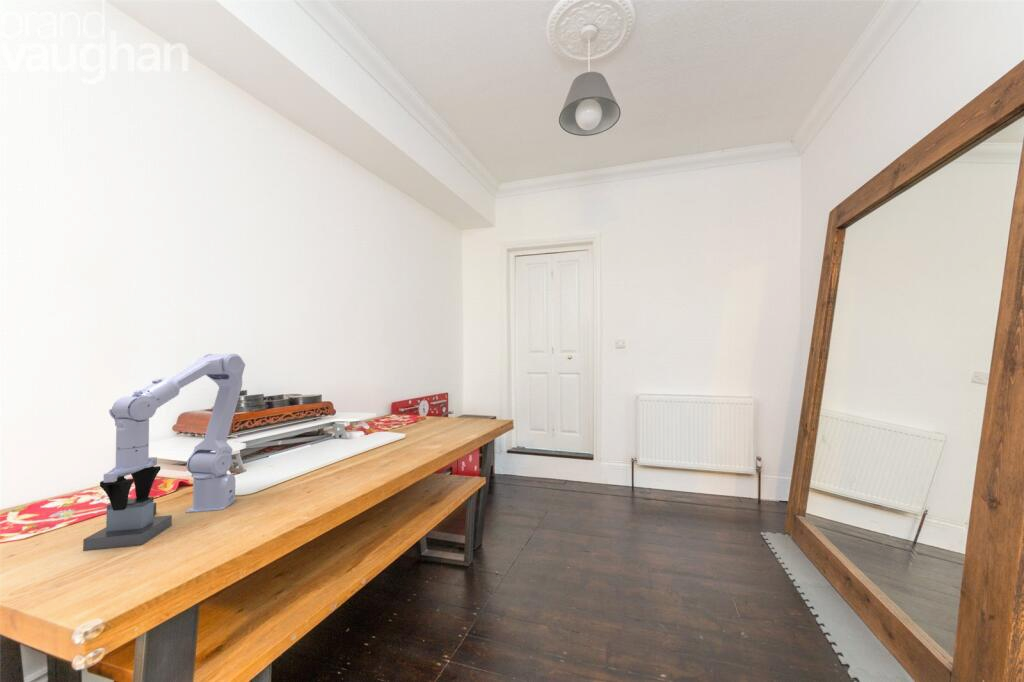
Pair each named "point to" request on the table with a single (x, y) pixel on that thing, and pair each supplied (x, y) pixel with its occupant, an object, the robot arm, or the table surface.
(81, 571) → the table surface
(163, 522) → the stand
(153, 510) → the rubber block
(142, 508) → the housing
